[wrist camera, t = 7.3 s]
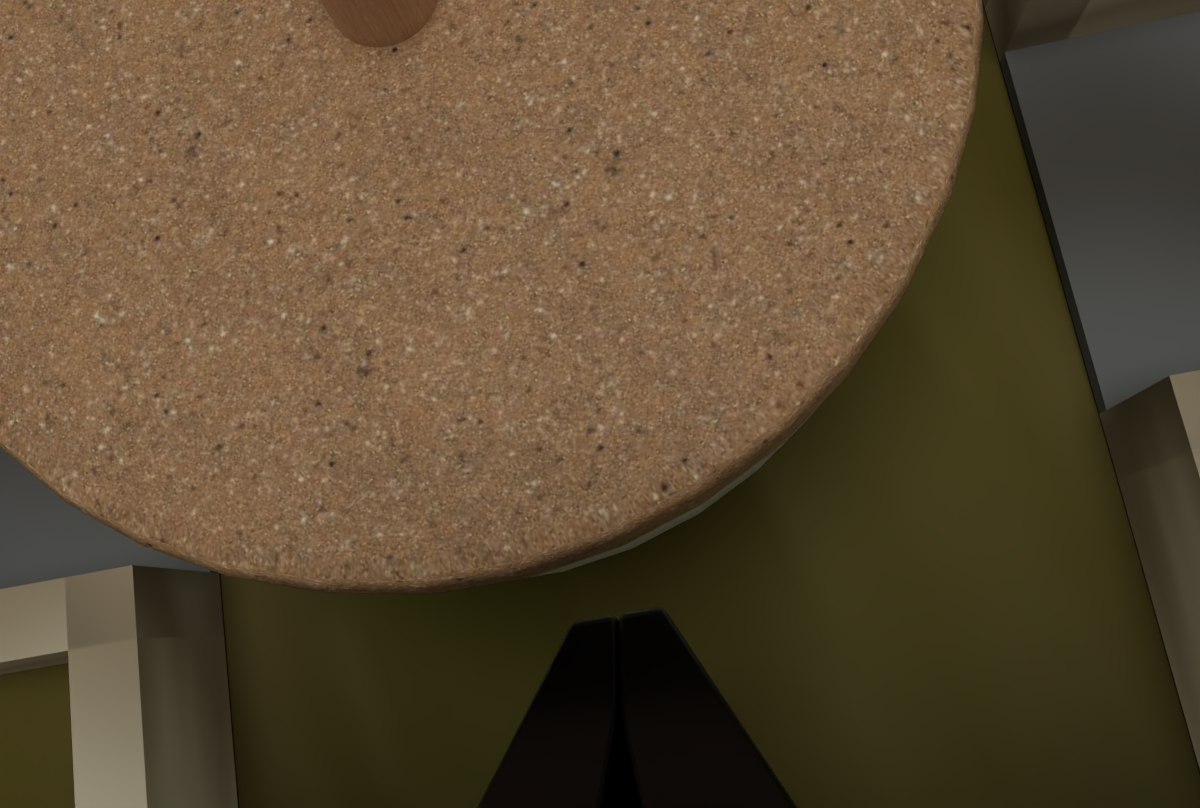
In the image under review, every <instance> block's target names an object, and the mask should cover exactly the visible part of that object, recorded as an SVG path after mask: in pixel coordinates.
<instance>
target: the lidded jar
mask: <svg viewBox="0 0 1200 808" xmlns="http://www.w3.org/2000/svg"><path fill="white" fill-rule="evenodd" d="M983 23H984V17H983V5H982V0H0V447H1V448H2V449H3V450H4V451H5V452H6V453H8V454H9V455H10V456H11V457H12V458H14V459H15V460H16V461H17V462H18V463H20V464H21V465H22V466H23V467H24V468H26V469H27V470H28V471H29V472H30V473H32V474H33V475H34V476H35V477H36V478H37V479H39V480H40V481H41V482H42V483H43V484H45V485H46V486H47V487H48V488H49V489H51V490H52V491H53V492H54V493H55V494H57V495H58V496H59V497H60V498H61V499H63V500H64V501H65V502H66V503H68V504H69V505H71V506H73V507H75V508H76V509H78V510H80V511H82V512H83V513H85V514H87V515H89V516H90V517H92V518H94V519H96V520H98V521H99V522H101V523H103V524H105V525H106V526H108V527H110V528H112V529H113V530H115V531H117V532H119V533H120V534H122V535H124V536H126V537H128V538H129V539H131V540H133V541H135V542H136V543H138V544H140V545H142V546H144V547H147V548H150V549H153V550H155V551H158V552H161V553H164V554H167V555H170V556H172V557H175V558H178V559H181V560H184V561H187V562H189V563H192V564H195V565H198V566H201V567H204V568H206V569H209V570H212V571H215V572H218V573H221V574H223V575H226V576H231V577H237V578H243V579H249V580H255V581H261V582H267V583H273V584H279V585H285V586H291V587H297V588H303V589H309V590H315V591H321V592H329V593H440V592H446V591H452V590H458V589H464V588H470V587H476V586H482V585H488V584H494V583H500V582H506V581H512V580H518V579H525V578H530V577H535V576H541V575H547V574H553V573H559V572H564V571H567V570H570V569H573V568H576V567H578V566H581V565H584V564H587V563H590V562H593V561H596V560H599V559H602V558H605V557H608V556H611V555H614V554H617V553H620V552H623V551H626V550H629V549H632V548H634V547H636V546H638V545H640V544H642V543H644V542H646V541H648V540H650V539H652V538H654V537H655V536H657V535H659V534H661V533H663V532H665V531H667V530H669V529H671V528H673V527H675V526H677V525H678V524H680V523H682V522H684V521H686V520H688V519H690V518H692V517H694V516H696V515H698V514H699V513H701V512H702V511H703V510H705V509H706V508H708V507H709V506H710V505H712V504H713V503H714V502H716V501H717V500H718V499H720V498H721V497H722V496H724V495H725V494H726V493H728V492H729V491H730V490H732V489H733V488H734V487H736V486H737V485H738V484H740V483H741V482H743V481H744V480H745V479H747V478H748V477H749V476H751V475H752V474H753V473H755V472H756V471H757V470H759V469H760V468H761V467H762V466H763V465H764V464H765V463H766V462H767V461H768V460H769V459H770V458H771V457H772V456H773V455H774V453H775V452H776V451H777V450H778V449H779V448H780V447H781V446H782V445H783V444H784V443H785V442H786V441H787V440H788V439H789V438H790V437H791V436H792V435H793V434H794V433H795V432H796V431H797V430H798V429H799V428H800V427H801V426H802V425H803V424H804V423H805V422H806V421H807V420H808V419H809V418H810V417H811V415H812V414H813V413H814V411H815V410H816V409H817V408H818V407H819V406H820V405H821V403H822V402H823V401H824V400H825V399H826V398H827V397H828V396H829V395H830V394H831V393H832V392H833V391H834V390H835V389H836V388H837V387H838V386H839V385H840V384H841V383H842V382H843V381H844V380H845V379H846V377H847V376H848V374H849V373H850V372H851V370H852V369H853V367H854V366H855V364H856V363H857V362H858V360H859V359H860V357H861V356H862V354H863V353H864V352H865V350H866V349H867V347H868V346H869V344H870V343H871V342H872V340H873V339H874V337H875V336H876V334H877V333H878V332H879V330H880V329H881V327H882V326H883V324H884V323H885V322H886V320H887V319H888V317H889V316H890V314H891V313H892V312H893V310H894V309H895V307H896V306H897V304H898V303H899V301H900V300H901V298H902V296H903V295H904V293H905V291H906V289H907V287H908V285H909V283H910V281H911V278H912V276H913V274H914V272H915V270H916V268H917V266H918V264H919V262H920V260H921V257H922V255H923V253H924V251H925V249H926V247H927V245H928V243H929V241H930V239H931V236H932V234H933V232H934V230H935V228H936V226H937V224H938V222H939V220H940V217H941V215H942V213H943V211H944V209H945V207H946V205H947V203H948V201H949V199H950V196H951V193H952V189H953V186H954V182H955V179H956V175H957V172H958V168H959V164H960V161H961V157H962V154H963V150H964V147H965V143H966V140H967V136H968V132H969V129H970V125H971V122H972V118H973V115H974V111H975V106H976V96H977V86H978V75H979V65H980V54H981V44H982V34H983Z"/></svg>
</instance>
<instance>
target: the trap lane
mask: <svg viewBox="0 0 1200 808" xmlns="http://www.w3.org/2000/svg"><path fill="white" fill-rule="evenodd" d="M982 1H983V4H984V8H985V11H986V15H987V18H988V22H989V25H990V29H991V33H992V36H993V40H994V43H995V47H996V50H997V54H998V57H999V61H1000V64H1001V68H1002V71H1003V75H1004V79H1005V82H1006V86H1007V89H1008V93H1009V96H1010V100H1011V103H1012V107H1013V110H1014V114H1015V118H1016V121H1017V125H1018V128H1019V132H1020V135H1021V139H1022V142H1023V146H1024V149H1025V153H1026V156H1027V160H1028V164H1029V167H1030V171H1031V174H1032V178H1033V181H1034V185H1035V188H1036V192H1037V195H1038V199H1039V202H1040V206H1041V210H1042V213H1043V217H1044V220H1045V224H1046V227H1047V231H1048V234H1049V238H1050V241H1051V245H1052V248H1053V252H1054V256H1055V259H1056V263H1057V266H1058V270H1059V273H1060V277H1061V280H1062V284H1063V287H1064V291H1065V294H1066V298H1067V302H1068V305H1069V309H1070V312H1071V316H1072V319H1073V323H1074V326H1075V330H1076V333H1077V337H1078V340H1079V344H1080V348H1081V351H1082V355H1083V358H1084V362H1085V365H1086V369H1087V372H1088V376H1089V379H1090V383H1091V386H1092V390H1093V394H1094V397H1095V401H1096V404H1097V408H1098V411H1099V415H1100V418H1101V422H1102V425H1103V429H1104V433H1105V436H1106V440H1107V443H1108V447H1109V450H1110V454H1111V457H1112V461H1113V464H1114V468H1115V471H1116V475H1117V479H1118V482H1119V486H1120V489H1121V493H1122V496H1123V500H1124V503H1125V507H1126V510H1127V514H1128V517H1129V521H1130V525H1131V528H1132V532H1133V535H1134V539H1135V542H1136V546H1137V549H1138V553H1139V556H1140V560H1141V563H1142V567H1143V571H1144V574H1145V578H1146V581H1147V585H1148V588H1149V592H1150V595H1151V599H1152V602H1153V606H1154V609H1155V613H1156V617H1157V620H1158V624H1159V627H1160V631H1161V634H1162V638H1163V641H1164V645H1165V648H1166V652H1167V655H1168V659H1169V663H1170V666H1171V670H1172V673H1173V677H1174V680H1175V684H1176V687H1177V691H1178V694H1179V698H1180V702H1181V705H1182V709H1183V712H1184V716H1185V719H1186V723H1187V726H1188V730H1189V733H1190V737H1191V740H1192V744H1193V748H1194V751H1195V755H1196V758H1197V762H1198V765H1199V769H1200V0H982ZM66 663H69V684H70V705H71V727H72V748H73V770H74V792H75V808H238V801H237V789H236V776H235V764H234V751H233V739H232V727H231V714H230V702H229V689H228V677H227V664H226V652H225V639H224V627H223V614H222V602H221V589H220V577H219V573H218V572H215V571H212V570H209V569H206V568H204V567H201V566H198V565H195V564H192V563H189V562H187V561H184V560H181V559H178V558H175V557H172V556H170V555H167V554H164V553H161V552H158V551H155V550H153V549H150V548H147V547H144V546H142V545H140V544H138V543H136V542H135V541H133V540H131V539H129V538H128V537H126V536H124V535H122V534H120V533H119V532H117V531H115V530H113V529H112V528H110V527H108V526H106V525H105V524H103V523H101V522H99V521H98V520H96V519H94V518H92V517H90V516H89V515H87V514H85V513H83V512H82V511H80V510H78V509H76V508H75V507H73V506H71V505H69V504H68V503H66V502H65V501H64V500H63V499H61V498H60V497H59V496H58V495H57V494H55V493H54V492H53V491H52V490H51V489H49V488H48V487H47V486H46V485H45V484H43V483H42V482H41V481H40V480H39V479H37V478H36V477H35V476H34V475H33V474H32V473H30V472H29V471H28V470H27V469H26V468H24V467H23V466H22V465H21V464H20V463H18V462H17V461H16V460H15V459H14V458H12V457H11V456H10V455H9V454H8V453H6V452H5V451H4V450H3V449H2V448H1V447H0V675H3V674H9V673H14V672H20V671H26V670H31V669H37V668H43V667H48V666H54V665H60V664H66Z"/></svg>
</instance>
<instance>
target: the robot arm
mask: <svg viewBox="0 0 1200 808" xmlns="http://www.w3.org/2000/svg"><path fill="white" fill-rule="evenodd" d="M478 808H797V806H796V805H795V803H794V802H793V800H792V799H791V797H790V796H789V794H788V793H787V791H786V790H785V788H784V787H783V785H782V784H781V782H780V781H779V779H778V778H777V776H776V775H775V773H774V772H773V770H772V769H771V767H770V766H769V764H768V763H767V761H766V760H765V758H764V757H763V755H762V754H761V752H760V751H759V749H758V748H757V746H756V745H755V744H754V742H753V741H752V739H751V738H750V736H749V735H748V733H747V732H746V730H745V729H744V727H743V726H742V724H741V723H740V721H739V720H738V718H737V717H736V715H735V714H734V712H733V711H732V709H731V708H730V706H729V705H728V703H727V702H726V700H725V699H724V697H723V696H722V694H721V693H720V691H719V690H718V688H717V687H716V685H715V684H714V682H713V681H712V679H711V678H710V676H709V675H708V673H707V672H706V670H705V669H704V667H703V666H702V664H701V663H700V661H699V660H698V658H697V657H696V655H695V654H694V652H693V651H692V649H691V648H690V646H689V645H688V643H687V642H686V640H685V639H684V637H683V636H682V634H681V633H680V631H679V630H678V628H677V627H676V625H675V624H674V622H673V621H672V619H671V618H670V616H669V615H668V613H667V612H666V611H665V610H664V609H662V608H659V607H656V608H650V609H644V610H638V611H632V612H627V613H624V614H622V615H621V616H620V619H619V621H618V620H617V618H616V617H614V616H603V617H598V618H592V619H586V620H580V621H577V622H575V623H573V624H572V625H571V626H570V628H569V629H568V631H567V633H566V635H565V637H564V639H563V641H562V643H561V645H560V647H559V649H558V651H557V653H556V655H555V657H554V659H553V661H552V663H551V665H550V667H549V669H548V671H547V673H546V675H545V676H544V678H543V680H542V682H541V684H540V686H539V688H538V690H537V692H536V694H535V696H534V698H533V700H532V702H531V704H530V706H529V708H528V710H527V712H526V714H525V716H524V718H523V720H522V722H521V724H520V726H519V727H518V729H517V731H516V733H515V735H514V737H513V739H512V741H511V743H510V745H509V747H508V749H507V751H506V753H505V755H504V757H503V759H502V761H501V763H500V765H499V767H498V769H497V771H496V773H495V775H494V777H493V778H492V780H491V782H490V784H489V786H488V788H487V790H486V792H485V794H484V796H483V798H482V800H481V802H480V804H479V806H478Z"/></svg>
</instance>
